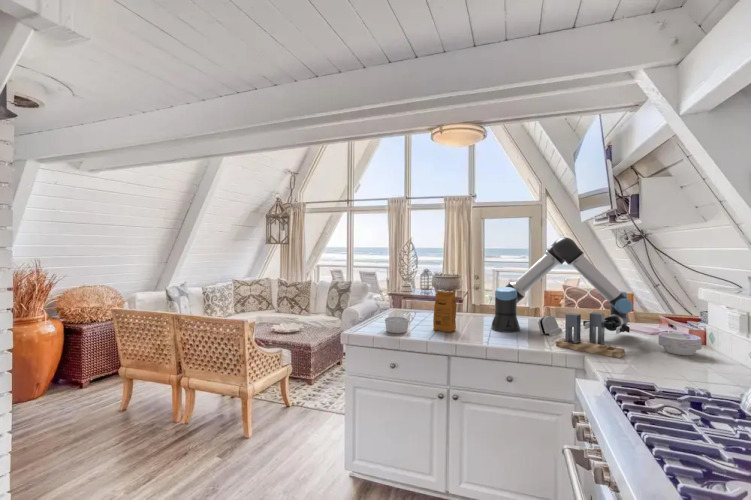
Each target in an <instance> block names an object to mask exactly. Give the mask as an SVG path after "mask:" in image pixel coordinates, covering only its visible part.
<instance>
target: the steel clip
mask: <svg viewBox="0 0 751 500" xmlns="http://www.w3.org/2000/svg"><path fill="white" fill-rule="evenodd" d="M605 316H606V314H605V313H603V312H602V313H601V312H595V311H593V312H590V313H589V321H590V328H588V330H589V332H588V333H589V335H588V336H589V337H588V339H589V341H588V343H593V344H599V345H605V329H606V328H605V318H606V317H605ZM596 326H598V327H596Z"/></svg>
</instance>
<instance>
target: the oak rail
mask: <svg viewBox="0 0 751 500" xmlns="http://www.w3.org/2000/svg"><path fill="white" fill-rule="evenodd" d="M555 347H559V348H564V349H569V350H574V351H575V350H576V351H578V352H583V353H584V352H585V353H591V354H594V355H595V354H596V355H600V356H605V357H611V358H616V359H621V358H622V357H623V356H624V355H625V354H626V351H625V350H626V349H625V348H621V347H614V346H611V345H609V346H608V345H605V344H604V345H599V344H598V343H596V344H593V343H589V341H588V342H587V341H582V340H580V344H573V339H572V342H571V343H567V342H565V337H563V338H560V339H558V340H555Z"/></svg>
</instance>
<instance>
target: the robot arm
mask: <svg viewBox="0 0 751 500" xmlns="http://www.w3.org/2000/svg"><path fill="white" fill-rule="evenodd" d="M563 263H566V264H567V265H568V266H572V267H573V268H574V269H575V270H576V271H577V272H578V273H579V275H581V276H582V277H583V278H584V279H585V280H586V281H587V282H588V283H589V284H590V285H591V286H592V287H593V288H594V289H595V290H596V291H597V292H598V293H599V294H600V295H601V296H602V297H603V298H604V299H605V300H606V301H607V302H608V304H609V305H610V306H609V307H610V308H609V311H610V312H609V316H606V317H605V329H606V330H608V331H610V332H615V334H616V335H618V334H621V333H625V332H626V333H630V330H631V329H630V326H629V325H627V324H628V323H629V317H628V315H627V314H629V313H630V312H632V311H633V308H634V307H633V305H634V304H633V302H632V301H631V300H630V299H628V295H627V294H628V293H627V292H626V291H621V290H619V289H618V288H617V287H616V286H615V285H614V284H613V283H612V282H611V281H610V280H609V279H608V278H607V277H606V276H605V275H604V274H603V273H602V272H601V271H600V270H599V269H598V268H597V267H596V266H595V265H594V264H593V263H592V262H591V261H590V260H589V259H588V258H587V257H585V253H584V252H583V251H582V249H580V247H579V246H578V245H577V243H576V242H575V240H574V239H572V238H570V237H560V238H558V239H556V240H555V241H554V242H553V243H552V244H551V245H550V246H549V247H548V248H546V250H545V254H544V255H543V256H542V257H540V259H538V260H537V261H536V262H535V263H534V264H533V265H532V266H530V267H529V268H527V270H526V271H525V272H523V274H522V275H521V276H519V277H518V278H517V279H516V280H515V281H510V282H509V283H508V284H507V285H505V286H503V287H502V286H501V287H497V288H496V289H495V291H494V304H495V305H494V316H493V319H492V323H491V329H492V330H494V331H497V332H502V333H503V332H504V333H515V332H520V331H521V329H520V327H521V325H520V323H519V320H518V317H517V310H518V309H517V308H518V307H517V306H518V305H517V304H519V302H520V301H522V300H523V299H524V298H525V297H526V293H527V292H528V291H529V290H530V289H531V288H532V287H533V286H535V285H536V284H537V283H538V282H539V281H540V280H541V279H543V278H544V277H545V276H546V275H547V274H549V273H550V272H551V271H552V270H553V269H554V268H555V267H556V266H559V265H563ZM582 322H583V323H582V325H583V327H584V330H589V329H590V320H583V321H582ZM596 328H598V326H596Z"/></svg>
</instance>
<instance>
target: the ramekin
mask: <svg viewBox="0 0 751 500" xmlns="http://www.w3.org/2000/svg"><path fill="white" fill-rule="evenodd" d="M409 322H410V319H409V318H407V317H405V316H404V317H403V316H387V317H385V318H384V323H385V330H386V332H388V333H391V334H404V333H406V332H407V331H408V327H409Z"/></svg>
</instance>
